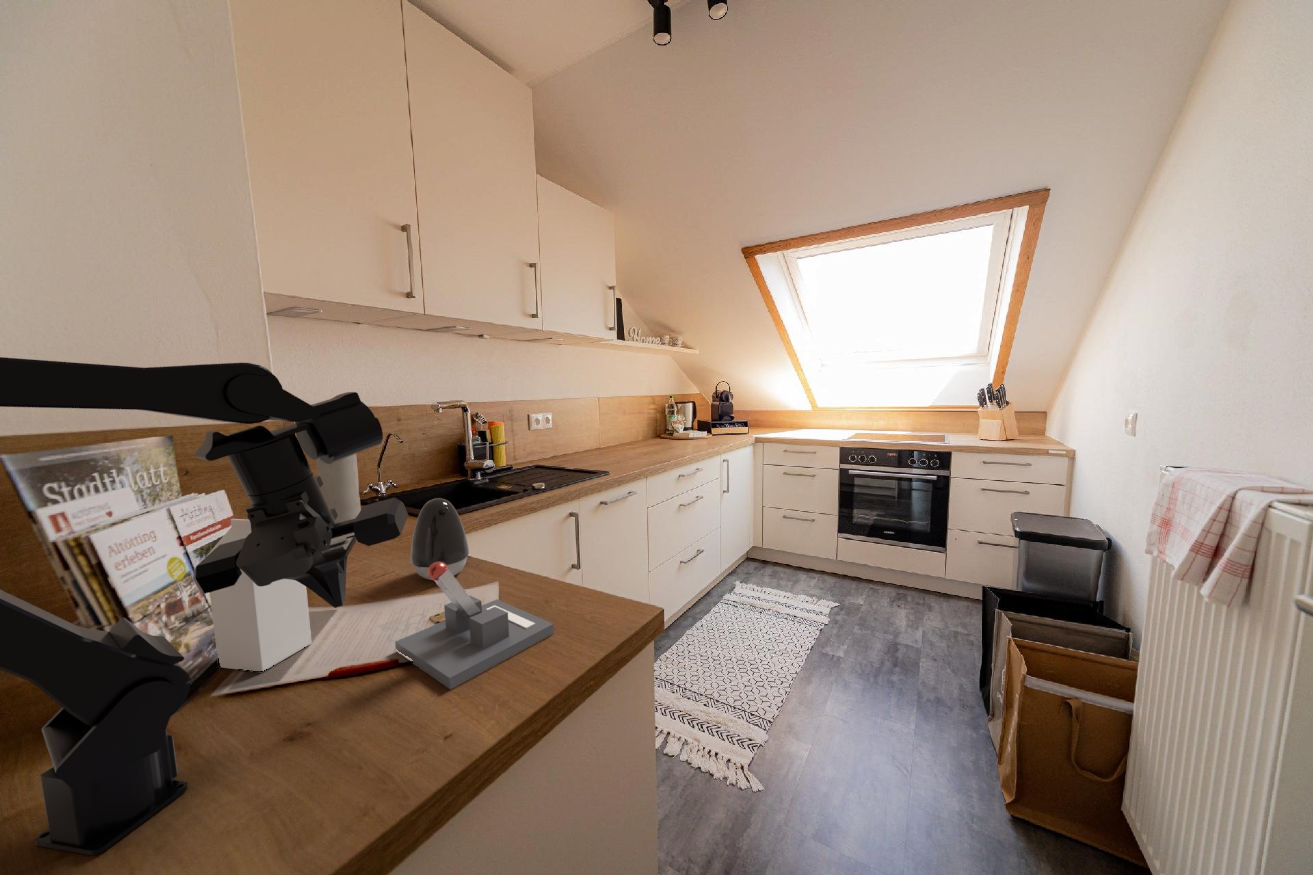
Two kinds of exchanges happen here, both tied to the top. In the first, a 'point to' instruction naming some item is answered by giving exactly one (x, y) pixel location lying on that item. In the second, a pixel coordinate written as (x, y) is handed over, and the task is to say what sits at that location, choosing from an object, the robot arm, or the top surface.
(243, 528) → the milk carton
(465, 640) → the switch box
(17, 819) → the top surface
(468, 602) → the switch lever
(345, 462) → the thermos bottle
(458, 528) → the grey egg shaped device
